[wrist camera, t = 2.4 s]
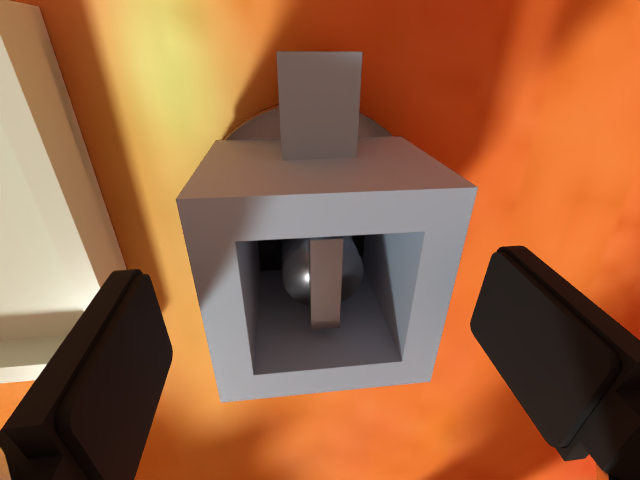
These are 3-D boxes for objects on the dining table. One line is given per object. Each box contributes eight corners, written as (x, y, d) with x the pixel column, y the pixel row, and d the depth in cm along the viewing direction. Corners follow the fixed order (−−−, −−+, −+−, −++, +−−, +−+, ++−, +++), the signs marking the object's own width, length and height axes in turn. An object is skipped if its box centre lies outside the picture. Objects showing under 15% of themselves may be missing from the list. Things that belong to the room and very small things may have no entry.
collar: (383, 282, 17) (430, 381, 12) (238, 292, 17) (220, 402, 11) (411, 52, 12) (510, 51, 7) (202, 51, 11) (142, 49, 6)
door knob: (399, 289, 19) (444, 376, 14) (218, 301, 18) (194, 401, 13) (427, 98, 14) (513, 125, 9) (180, 101, 13) (119, 132, 8)
